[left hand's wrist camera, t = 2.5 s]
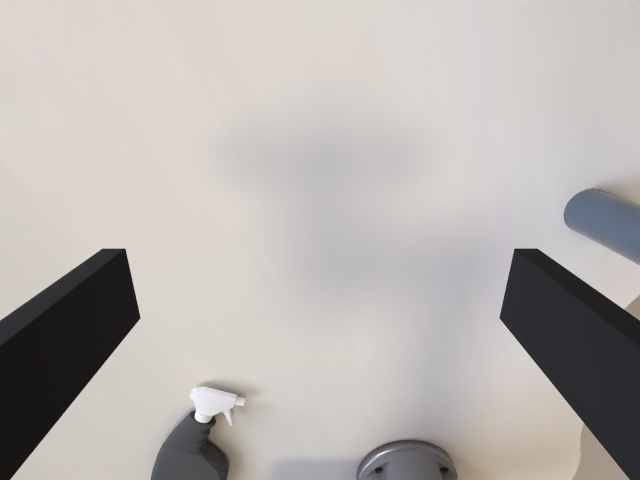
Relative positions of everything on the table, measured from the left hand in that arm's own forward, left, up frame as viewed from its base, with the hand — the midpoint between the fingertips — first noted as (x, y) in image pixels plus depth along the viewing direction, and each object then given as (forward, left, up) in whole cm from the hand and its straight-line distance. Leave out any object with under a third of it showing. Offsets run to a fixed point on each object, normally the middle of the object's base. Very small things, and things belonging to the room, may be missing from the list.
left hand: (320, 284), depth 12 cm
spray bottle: (-43, +18, -28) cm, 54 cm away
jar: (-6, -30, -28) cm, 41 cm away
